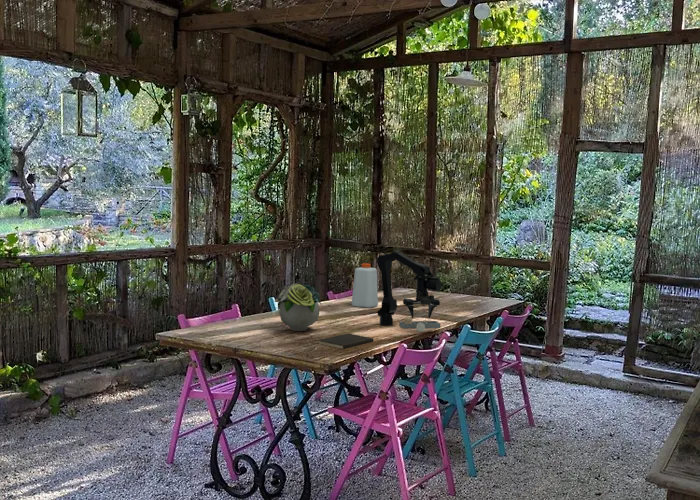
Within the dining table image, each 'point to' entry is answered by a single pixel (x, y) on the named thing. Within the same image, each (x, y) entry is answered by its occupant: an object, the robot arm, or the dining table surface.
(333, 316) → the dining table surface
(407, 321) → the brown egg
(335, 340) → the hardcover book
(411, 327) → the grey long rectangular tray
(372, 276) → the plastic bottle
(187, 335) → the dining table surface
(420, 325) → the cream egg
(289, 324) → the flower arrangement
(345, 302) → the dining table surface
